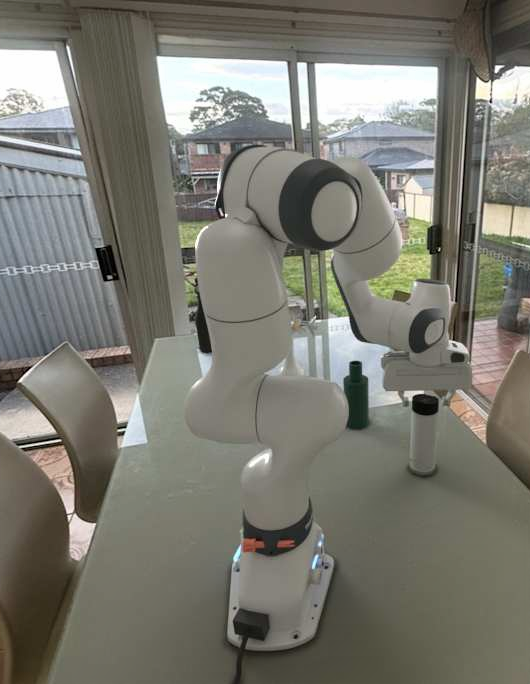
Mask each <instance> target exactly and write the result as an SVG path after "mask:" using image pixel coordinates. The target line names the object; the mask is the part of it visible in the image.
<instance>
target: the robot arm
mask: <svg viewBox="0 0 530 684" xmlns="http://www.w3.org/2000/svg"><path fill="white" fill-rule="evenodd" d="M216 187H217V194H216V198H215V201H214V210H215V212H216V215H217V217H218V219H217V220H215V221H212V222H210V223H208V224H207V225H206V226H205V227H203V228H202V229H201V231H200V232H199V233H198V235H197V238H196V239H195V248H194V251H195V268H196V270H195V271H196V278H197V280H198V287H199V293H200V298H201V302H202V307H203V311H204V314H205V318H206V322H207V327H208V331H209V336H210V341H211V347H212V351H211V353H212V360H211V364H210V368H209V370H208V371H207V372H206V374H205V375H204V376H202V377H201V378H198V380H197V381H195V383H194V384H193V385H192V386H191V388H190V389H189V391H188V392H187V394H186V397H185V401H184V404H183V413H184V414H183V416H184V419H185V423H186V426H187V428H188V429H189V431H190V432H191V433H192V435H193V436H195V437H197V438H201V439H204V440H208V441H211V442H216V443H220V444H224V445H225V444H226V445H227V444H229V445H252V446H253V445H254V446H265V447H269V448H265V449H264V450H262V451H259V453H257V454H256V455H255V456H253V457H252V458H250V460H249V461H248V462H247V463H246V464H245V466H244V467H243V469H242V472H241V474H240V481H239V482H240V490H241V496H242V503H243V508H242V518H241V529H240V530H239V535H240V536H239V537H240V545H239V547H238V548H237V550H236V552H235V554H234V556H233V562H232V564H231V573H230V574H231V575H230V589H229V603H228V618H227V634H226V635H227V641H228V642H229V643H231V644H232V645H233V646H235V647H238V648H239V649H238V653H237V657H236V660H235V661H236V662H235V676H234V678H233V681H232V684H239V683H240V681H241V677H242V671H243V668H242V667H243V666H242V664H243V657H244V653H245V650H247V651H255V652H274V651H275V652H276V651H284V650H289V649H293V648H296V647H300V646H302V645H304V644H306V643H308V642H309V641H311V640H313V638H314V637H315V635H316V633H317V630H318V626H319V623H320V619H321V616H322V611H323V608H324V605H325V602H326V597H327V594H328V590H329V587H330V583H331V580H332V575H333V573H334V568H335V560H334V558H333V557H332V556H330V555H329V554H327V553H325V547H324V546H325V545H324V534H323V529H322V527H320V526H319V524H318V523H317V522H316V521H315V520H314V516H313V515H314V514H313V513H314V508H313V503H312V499H311V498H310V497H311V496H309V474H310V468H311V465H312V462H313V461H314V459H315V458H316V457H317V455H319V453H320V452H321V451H322V450H324V449H325V448H326V447H328V446H329V445H331V444H334V443H335V442H336V441H337V440H338V439H339V438H340V437H341V436H342V434H343V432H344V431H345V429H346V427H347V426H346V424H347V421H348V416H349V407H348V401H347V398H346V396H345V394H344V389H342V387H341V386H340V385H339V384H338V383H337V382H335V381H332V380H328V379H324V378H319V377H315V376H310V375H304V376H283V375H278V374H267V373H268V372H270V371H272V370H273V369H275V368H276V367H277V366H279V365H280V364H281V363H282V362H283V361H285V358H286V357H287V355H288V354H289V352H290V350H291V347H292V342H293V343H294V340H293V336H292V329H291V327H292V324H291V321H290V315H291V314H290V309H289V308H290V307H289V301H288V293H287V288H286V282H285V277H284V272H283V269H284V268H283V267H284V266H283V265H284V258H285V253H286V250H287V247H288V245H289V244H292V245H294V246H295V247H297V248H299V249H302V250H307V251H315V252H324V251H330V250H331V251H332V252H331V254H330V269H331V273H332V276H333V279H334V281H335V284H336V287H337V289H338V292H339V294H340V296H341V299H342V301H343V303H344V306H345V309H346V312H347V315H348V320H349V321H348V323H349V325H350V326H349V327H350V330H351V332H352V334H353V336H354V337H355V339H356V340H357V341H359V342H361V343H366V344H372V345H379V346H382V347H385V348H389V349H393V350H389V351H387V352H386V353H383V355H382V356H381V357H380V367H381V369H382V377H381V385H382V388H383V389H384V391H385V392H397V395H398V397H399V399H400V400H401V407H402V408H405V407H406V408H407V407H408V408H409V407H410V399H409V397H408V396H405V392H415V391H417V392H421V391H423V392H424V391H448V392H447V393H446V394H445V395H442V396H441V399H442V400H441V404H442V406H443V407H450V406H451V400H452V399H453V397H454V396H455V395H456V391H465V390H466V391H467V390H469V389H470V388H471V387H472V386H473V368H472V365H471V363H470V358H471V355H470V352H469V350H468V349H467V347H466V346H465V344H463V343H461V342H457V341H455V340H451V339H450V334H449V326H450V323H451V320H452V319H451V318H452V297H451V289H450V285H449V284H448V283H447V282H446V281H443V280H439V279H435V278H417V279H415V280H413V282H412V286H411V292H410V297H409V298H408V299H407V300H406V301H404V302H403V301H399V300H394V299H390V298H389V299H388V298H385V297H381V296H379V295H377V294H375V293H373V292H372V289H371V286H370V284H369V281H372V280H375V279H377V278H379V277H381V276H382V275H384V274H385V273H387V272H388V271H390V269H391V268H393V266H394V265H395V264H396V263H397V260H399V257H400V255H401V252H402V249H403V234H402V229H401V225H400V224H399V221H398V219H397V217H396V214H395V211H394V208H393V206H392V204H391V202H390V200H389V198H388V196H387V194H386V192H385V190H384V188H383V186H382V184H381V183H380V181H379V179H378V178H377V177H376V175H375V173H374V172H373V170H372V169H371V168H370V166H369V165H368V164H367V163H366V162H365V161H363V160H362V159H360V158H358V157H356V156H347V155H346V156H345V155H344V156H339V157H335V158H333V159H331V160H327V159H324V158H316V157H313V156H310V155H309V154H304V153H302V152H299V151H297V150H295V149H291V148H286V147H279V146H268V145H264V144H249V145H244V146H240V147H238V148H236V149H234V150H233V151H231V152H230V153H229V154H228V155H227V156H226V157H225V158H224V160H223V162H222V164H221V166H220V168H219V172H218V177H217V186H216ZM219 209H220V210H219ZM220 211H221V212H220ZM221 213H222V214H221ZM395 350H397V351H395Z"/></svg>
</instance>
